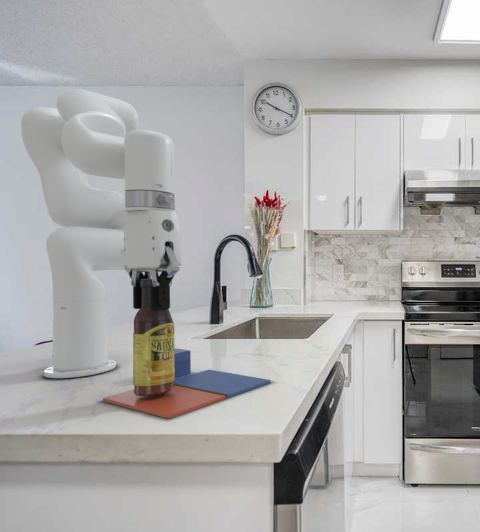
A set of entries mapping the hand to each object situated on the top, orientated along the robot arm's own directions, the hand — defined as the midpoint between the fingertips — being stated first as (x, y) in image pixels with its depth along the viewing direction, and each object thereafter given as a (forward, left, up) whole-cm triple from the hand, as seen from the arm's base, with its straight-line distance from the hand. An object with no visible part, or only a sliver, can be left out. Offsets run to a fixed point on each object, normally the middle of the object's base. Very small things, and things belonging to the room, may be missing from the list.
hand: (151, 307), depth 73 cm
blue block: (-11, +11, -16) cm, 22 cm away
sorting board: (+3, +5, -16) cm, 17 cm away
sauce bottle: (+1, 0, -15) cm, 15 cm away
